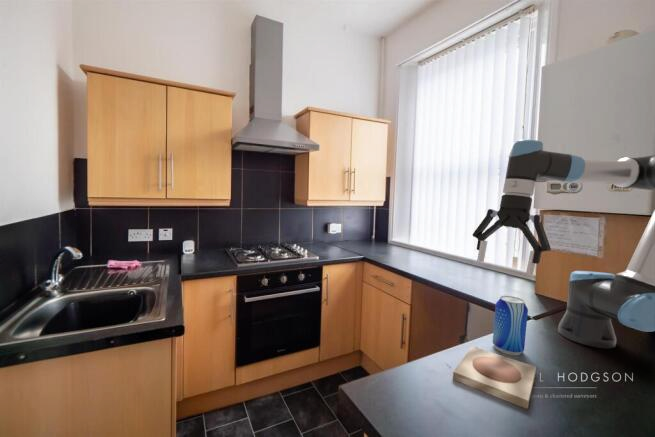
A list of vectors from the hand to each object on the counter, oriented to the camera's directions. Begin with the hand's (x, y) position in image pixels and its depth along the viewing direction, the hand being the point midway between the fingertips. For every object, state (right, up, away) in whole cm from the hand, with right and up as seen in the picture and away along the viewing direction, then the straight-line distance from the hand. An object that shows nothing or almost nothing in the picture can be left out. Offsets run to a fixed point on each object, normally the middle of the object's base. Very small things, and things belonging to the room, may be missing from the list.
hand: (503, 267), depth 89 cm
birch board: (-8, -27, -10) cm, 29 cm away
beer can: (+4, -26, +5) cm, 27 cm away
